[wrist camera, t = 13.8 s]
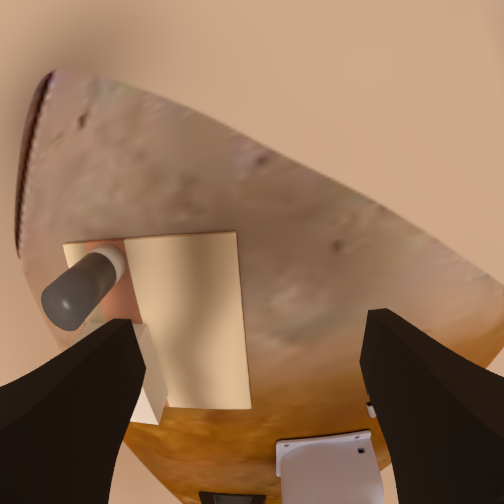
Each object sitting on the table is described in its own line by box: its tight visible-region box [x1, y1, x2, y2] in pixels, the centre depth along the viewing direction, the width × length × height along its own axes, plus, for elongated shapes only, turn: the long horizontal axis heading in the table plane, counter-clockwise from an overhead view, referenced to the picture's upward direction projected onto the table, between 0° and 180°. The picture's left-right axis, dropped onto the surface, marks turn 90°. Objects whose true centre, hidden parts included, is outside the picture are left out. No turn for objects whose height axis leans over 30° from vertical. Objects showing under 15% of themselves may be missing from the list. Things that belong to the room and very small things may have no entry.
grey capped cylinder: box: [41, 244, 126, 331], centre depth 16 cm, size 3×3×6 cm
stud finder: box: [69, 322, 168, 425], centre depth 20 cm, size 5×7×4 cm
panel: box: [63, 231, 251, 409], centre depth 21 cm, size 12×15×1 cm
